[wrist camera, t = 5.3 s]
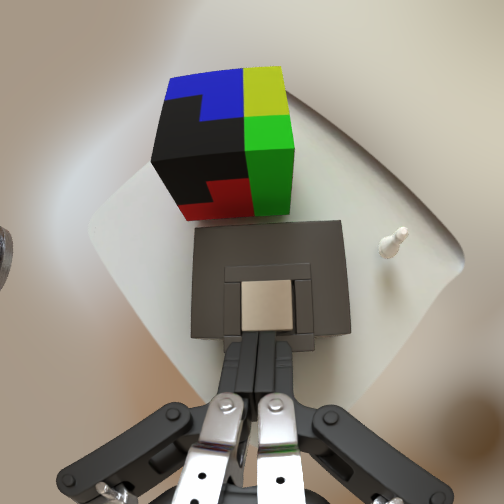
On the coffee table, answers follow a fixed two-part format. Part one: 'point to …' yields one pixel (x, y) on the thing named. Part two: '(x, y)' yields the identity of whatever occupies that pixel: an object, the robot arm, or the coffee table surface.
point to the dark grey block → (271, 278)
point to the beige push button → (267, 305)
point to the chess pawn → (392, 243)
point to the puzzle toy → (226, 144)
